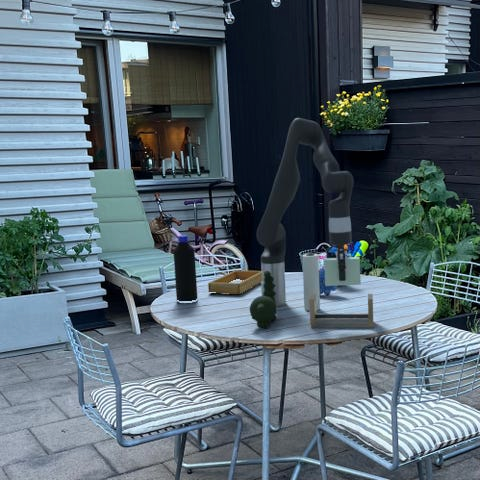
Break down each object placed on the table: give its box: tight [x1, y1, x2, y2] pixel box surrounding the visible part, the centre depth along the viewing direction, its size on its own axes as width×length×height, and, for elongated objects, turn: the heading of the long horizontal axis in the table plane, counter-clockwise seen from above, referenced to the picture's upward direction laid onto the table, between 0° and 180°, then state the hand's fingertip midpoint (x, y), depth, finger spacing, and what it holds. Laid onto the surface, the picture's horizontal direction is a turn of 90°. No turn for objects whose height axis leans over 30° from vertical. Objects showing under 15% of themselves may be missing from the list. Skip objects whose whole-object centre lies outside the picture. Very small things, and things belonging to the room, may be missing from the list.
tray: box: [207, 270, 262, 295], centre depth 285 cm, size 31×15×6 cm, turn 158°
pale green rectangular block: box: [323, 256, 362, 286], centre depth 214 cm, size 12×4×9 cm, turn 82°
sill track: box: [309, 293, 374, 329], centre depth 215 cm, size 21×8×10 cm, turn 79°
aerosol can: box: [325, 245, 345, 288], centre depth 278 cm, size 8×8×20 cm
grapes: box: [319, 268, 338, 296], centre depth 261 cm, size 12×7×12 cm, turn 78°
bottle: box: [173, 234, 198, 301], centre depth 261 cm, size 9×9×28 cm
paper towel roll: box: [302, 252, 321, 312], centre depth 238 cm, size 7×6×21 cm
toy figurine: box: [249, 271, 278, 329], centre depth 222 cm, size 9×19×25 cm
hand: (342, 279), depth 215 cm, fingers closed on pale green rectangular block, 3 cm apart
